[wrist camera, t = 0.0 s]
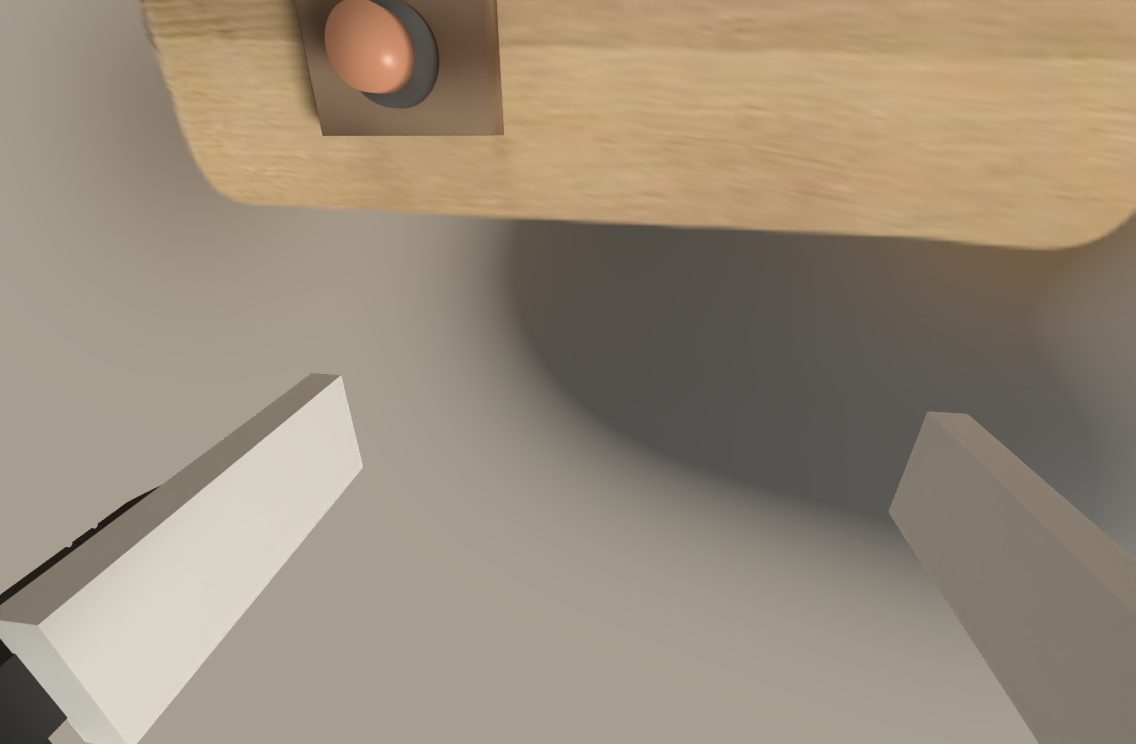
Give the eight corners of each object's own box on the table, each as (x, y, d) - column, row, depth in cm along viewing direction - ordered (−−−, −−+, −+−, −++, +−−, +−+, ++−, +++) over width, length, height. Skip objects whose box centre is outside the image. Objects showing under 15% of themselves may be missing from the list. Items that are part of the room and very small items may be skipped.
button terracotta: (337, 7, 28) (316, -1, 26) (409, 4, 27) (393, -4, 26) (352, 94, 30) (334, 92, 28) (420, 93, 29) (406, 91, 28)
